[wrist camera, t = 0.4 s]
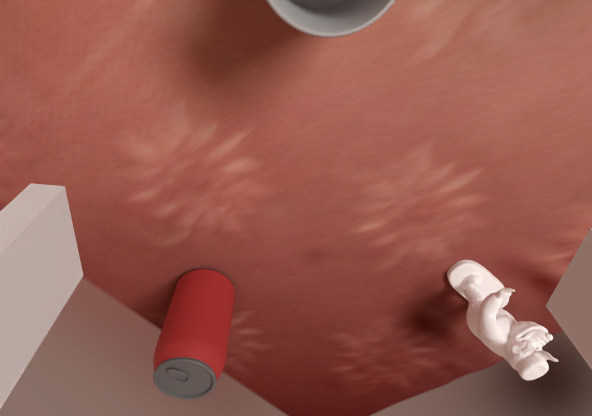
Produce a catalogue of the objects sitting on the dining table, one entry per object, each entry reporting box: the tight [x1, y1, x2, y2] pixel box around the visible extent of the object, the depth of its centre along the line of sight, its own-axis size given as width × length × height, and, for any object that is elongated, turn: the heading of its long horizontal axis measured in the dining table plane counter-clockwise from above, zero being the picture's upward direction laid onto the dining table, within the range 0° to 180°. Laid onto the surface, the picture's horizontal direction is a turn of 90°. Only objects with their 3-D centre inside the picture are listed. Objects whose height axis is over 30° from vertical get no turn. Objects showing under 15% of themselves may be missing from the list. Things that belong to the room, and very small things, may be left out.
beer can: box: [153, 269, 235, 399], centre depth 42 cm, size 7×7×12 cm
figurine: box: [447, 260, 558, 380], centre depth 43 cm, size 9×7×12 cm
